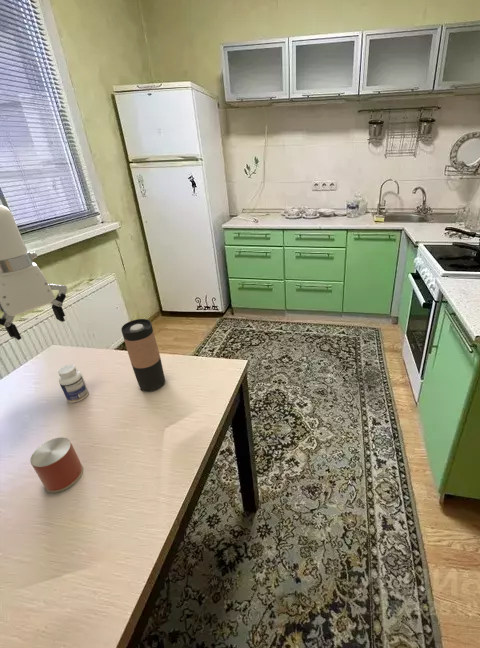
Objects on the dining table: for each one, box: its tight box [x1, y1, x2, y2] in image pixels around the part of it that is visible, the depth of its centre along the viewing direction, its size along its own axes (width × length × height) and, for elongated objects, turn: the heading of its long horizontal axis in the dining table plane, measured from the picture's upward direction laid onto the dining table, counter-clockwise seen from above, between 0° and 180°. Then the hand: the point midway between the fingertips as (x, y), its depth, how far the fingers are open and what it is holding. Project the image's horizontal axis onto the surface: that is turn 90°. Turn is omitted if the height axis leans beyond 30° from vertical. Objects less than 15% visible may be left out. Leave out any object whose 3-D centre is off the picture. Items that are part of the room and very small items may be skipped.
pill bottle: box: [57, 364, 90, 404], centre depth 89 cm, size 5×5×10 cm
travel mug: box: [120, 318, 166, 393], centre depth 91 cm, size 8×8×20 cm
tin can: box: [30, 436, 84, 494], centre depth 68 cm, size 7×7×8 cm
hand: (40, 328), depth 80 cm, fingers open, 9 cm apart
